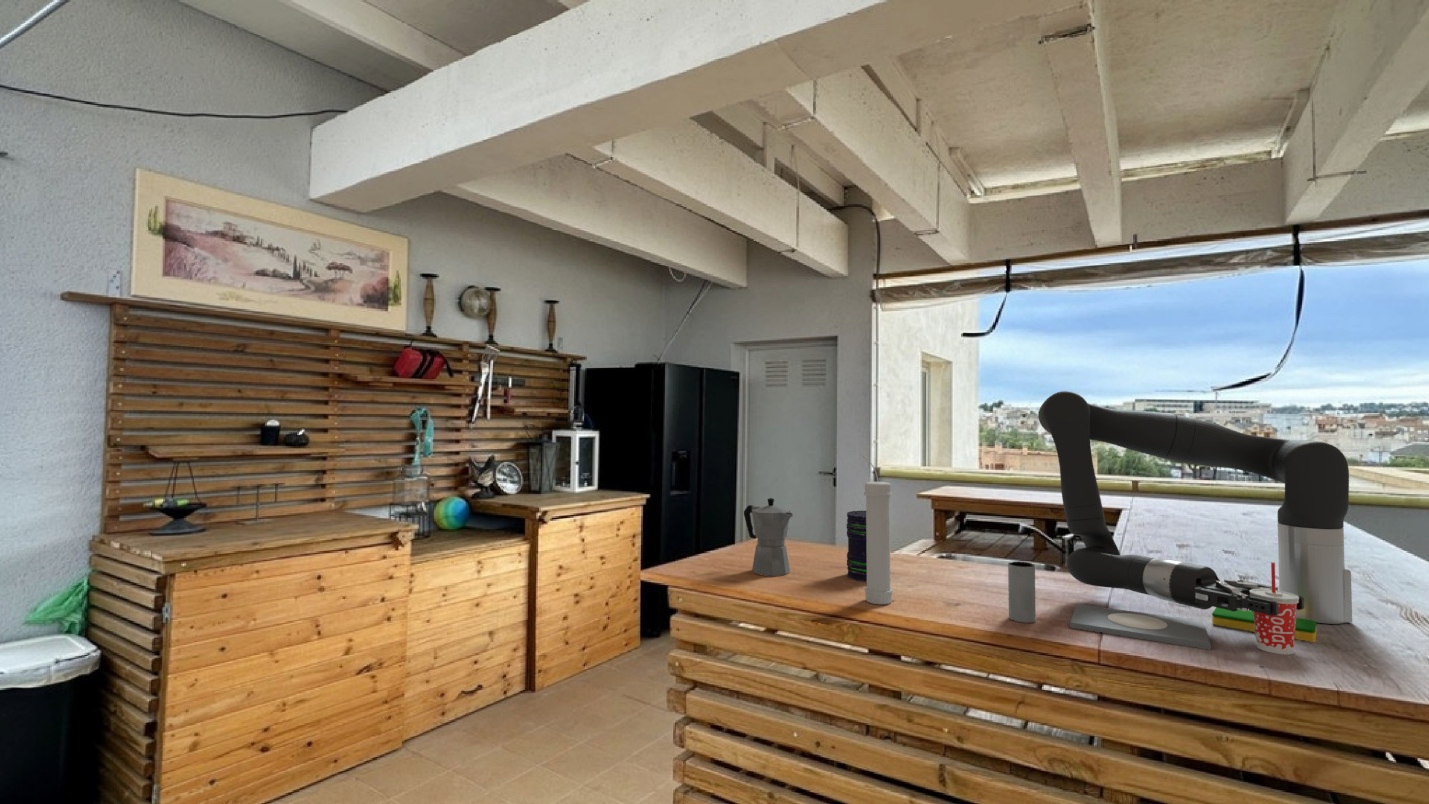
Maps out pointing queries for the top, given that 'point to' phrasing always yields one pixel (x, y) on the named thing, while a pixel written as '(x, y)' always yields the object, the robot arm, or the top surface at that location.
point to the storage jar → (857, 546)
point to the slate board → (1141, 626)
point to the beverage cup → (1276, 620)
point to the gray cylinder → (1021, 591)
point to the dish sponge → (1246, 622)
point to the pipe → (878, 541)
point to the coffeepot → (769, 538)
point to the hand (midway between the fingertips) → (1290, 606)
